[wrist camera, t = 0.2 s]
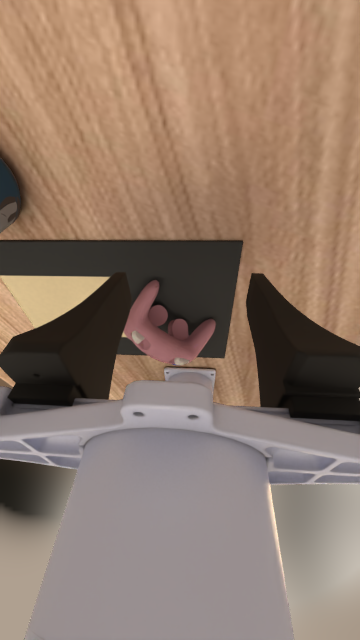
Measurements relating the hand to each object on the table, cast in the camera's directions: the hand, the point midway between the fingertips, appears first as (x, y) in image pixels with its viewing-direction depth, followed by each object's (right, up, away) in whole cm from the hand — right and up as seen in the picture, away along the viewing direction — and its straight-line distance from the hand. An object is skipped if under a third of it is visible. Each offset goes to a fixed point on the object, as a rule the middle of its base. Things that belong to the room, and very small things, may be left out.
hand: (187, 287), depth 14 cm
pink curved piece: (-1, -1, +15) cm, 15 cm away
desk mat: (-7, -1, +16) cm, 17 cm away
